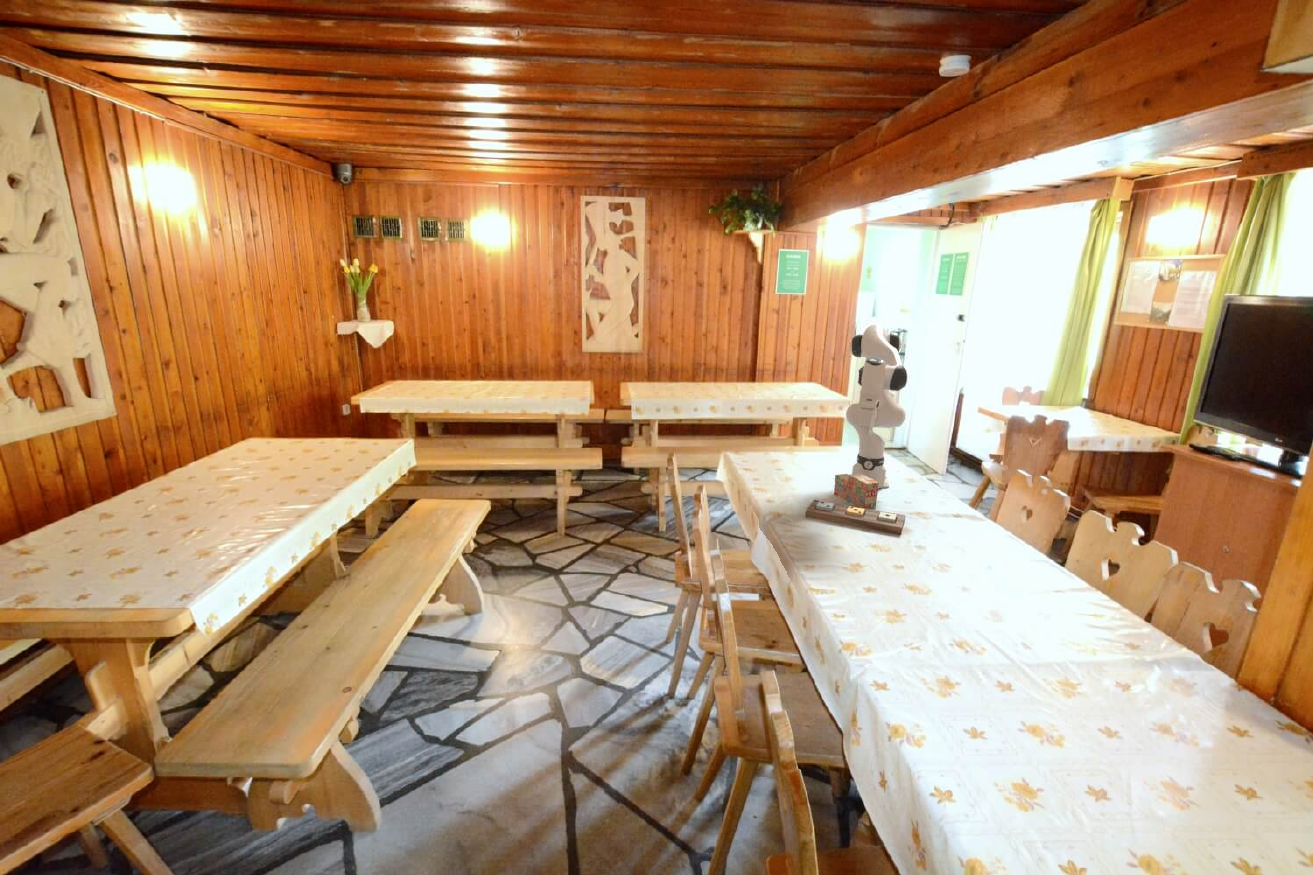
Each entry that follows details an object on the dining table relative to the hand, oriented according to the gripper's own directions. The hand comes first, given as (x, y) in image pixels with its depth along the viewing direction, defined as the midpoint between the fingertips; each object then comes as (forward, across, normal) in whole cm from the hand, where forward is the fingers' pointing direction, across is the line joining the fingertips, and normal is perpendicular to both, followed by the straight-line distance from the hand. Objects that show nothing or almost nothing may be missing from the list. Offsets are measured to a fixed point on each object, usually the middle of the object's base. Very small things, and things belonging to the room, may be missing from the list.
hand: (867, 433), depth 234 cm
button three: (+33, +11, 0) cm, 35 cm away
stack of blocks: (+34, -10, -4) cm, 36 cm away
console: (+33, +11, 0) cm, 35 cm away
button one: (+33, +11, +12) cm, 37 cm away
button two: (+33, +11, -12) cm, 37 cm away
